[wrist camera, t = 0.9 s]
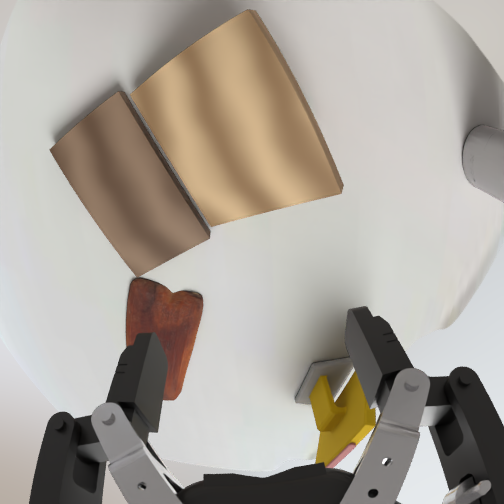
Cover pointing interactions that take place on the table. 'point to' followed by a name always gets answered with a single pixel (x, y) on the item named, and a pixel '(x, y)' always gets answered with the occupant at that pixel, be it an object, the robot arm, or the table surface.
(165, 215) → the walnut board
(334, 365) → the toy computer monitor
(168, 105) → the light wood board
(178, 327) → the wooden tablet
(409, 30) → the table surface
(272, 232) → the table surface
